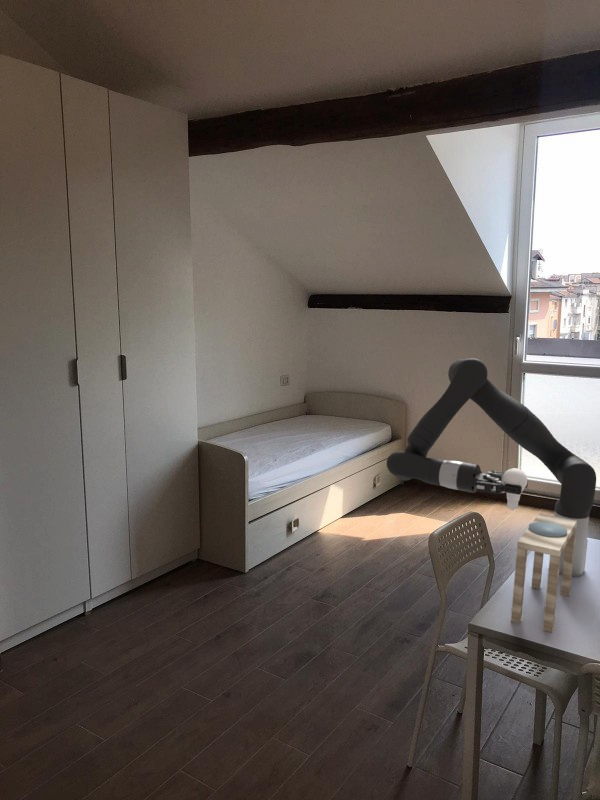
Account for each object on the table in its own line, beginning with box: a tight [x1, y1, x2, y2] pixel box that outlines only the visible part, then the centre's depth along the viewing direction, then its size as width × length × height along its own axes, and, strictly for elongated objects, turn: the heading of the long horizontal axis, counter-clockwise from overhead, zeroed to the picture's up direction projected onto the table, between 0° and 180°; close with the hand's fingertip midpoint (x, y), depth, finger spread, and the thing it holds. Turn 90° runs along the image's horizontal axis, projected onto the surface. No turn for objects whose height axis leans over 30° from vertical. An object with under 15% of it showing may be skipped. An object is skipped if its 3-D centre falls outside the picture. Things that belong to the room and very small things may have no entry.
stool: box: [510, 513, 577, 633], centre depth 164 cm, size 24×10×21 cm, turn 148°
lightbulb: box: [502, 467, 528, 511], centre depth 165 cm, size 6×6×11 cm
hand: (524, 487), depth 164 cm, fingers closed on lightbulb, 5 cm apart
